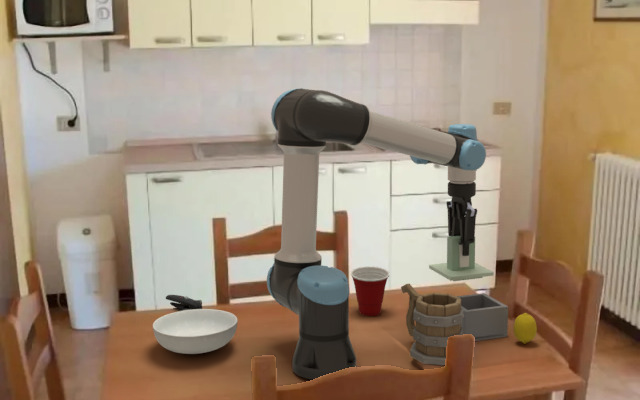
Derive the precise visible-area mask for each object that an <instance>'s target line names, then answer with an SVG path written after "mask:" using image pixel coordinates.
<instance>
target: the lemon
mask: <svg viewBox="0 0 640 400" xmlns="http://www.w3.org/2000/svg"><path fill="white" fill-rule="evenodd" d="M537 329H538V328H537V322H536V319H535V318H534V317H533V316H532V315H531V314H529V313H528V312H523V313H521V314H519V315H518V316H517V317H516V318H515V320H514V323H513V333H514V336H515V338H516V339H517V340H518V341H520V342H521V343H522V344H523V345H524V344H525V345H526V344H527V343H528V342H531V341H533V340H534V338H535V337H536V336H537V335H536V334H537V331H538V330H537Z"/></svg>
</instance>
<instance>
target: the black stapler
mask: <svg viewBox="0 0 640 400" xmlns="http://www.w3.org/2000/svg"><path fill="white" fill-rule="evenodd" d="M165 300H167V301H171V302H170V303H169V304H170V305H171V306H172V307H174V308H175V309H177V310H179V311H184V310H193V309H203V301H202V300H201V299H197V300H196V299H193V298H190V297H189V296H187V295H186V296H182V295H178V294H168V295H166V296H165Z"/></svg>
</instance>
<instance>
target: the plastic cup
mask: <svg viewBox="0 0 640 400" xmlns="http://www.w3.org/2000/svg"><path fill="white" fill-rule="evenodd" d="M350 276H351V277H352V282H353V285H354V289H355V295H356V302H357V305H358V310H359V311H358V312H359V314H360V315H361V316H363V317H364V316H365V317H374V316H378V315H380V314H381V312H382V306H383V305H382V304H383V302H384V295H385V289H386V285H387V281H388V279H389V277H390V271H389V270H387V269H385V268H382V267H378V266H360V267H357V268H354V269H352V270H351V271H350Z"/></svg>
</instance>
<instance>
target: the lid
mask: <svg viewBox="0 0 640 400" xmlns="http://www.w3.org/2000/svg"><path fill="white" fill-rule="evenodd" d="M459 242H461V236H447V237H446V262H443V263H434V264H429V265H428V267H429V268H428V269H430V270H431V271H433V272H434V273H437V274H438V275H439V276H442V277H443V278H446V280H449V281H450V282H451V281H452V282H459V281H466V280H467V281H469V280H475V279H483V278H484V277H493V276H494V275H495V274H494V271H493V270H490V269H489V268H486V267H485V266H482V265H481V264H478V263H477V262H476V236H475V237H474V243H471V244H469V267H459Z"/></svg>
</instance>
